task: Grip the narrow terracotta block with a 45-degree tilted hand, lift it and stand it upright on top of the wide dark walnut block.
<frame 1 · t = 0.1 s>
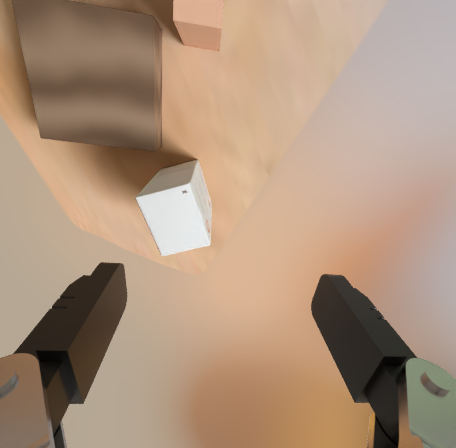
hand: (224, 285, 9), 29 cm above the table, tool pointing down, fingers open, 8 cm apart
walnut block: (109, 86, 31), on the table
terracotta block: (203, 26, 29), on the table
small box: (187, 187, 38), on the table
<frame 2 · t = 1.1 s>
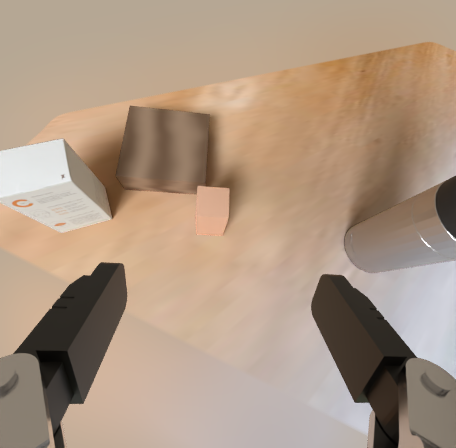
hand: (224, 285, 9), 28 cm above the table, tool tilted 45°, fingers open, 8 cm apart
walnut block: (169, 159, 44), on the table
terracotta block: (210, 222, 40), on the table
small box: (84, 209, 39), on the table
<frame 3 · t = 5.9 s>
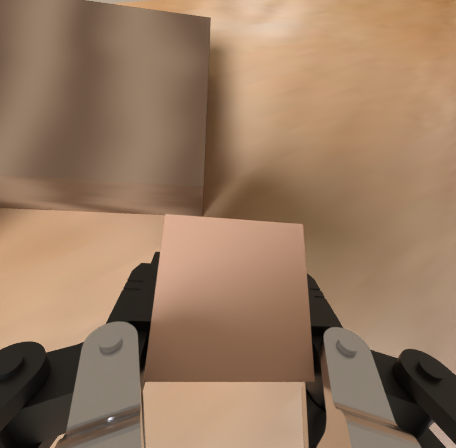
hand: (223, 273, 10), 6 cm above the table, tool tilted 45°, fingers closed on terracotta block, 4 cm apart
walnut block: (119, 133, 19), on the table
terracotta block: (214, 297, 15), on the table, touching gripper
when the fingers open (12 cm above the table, at t = 12.1 s): terracotta block drops 2 cm, resting on walnut block.
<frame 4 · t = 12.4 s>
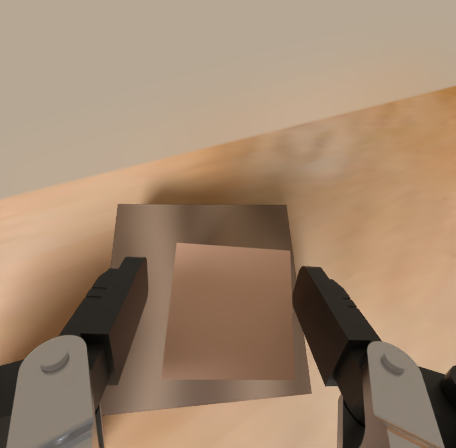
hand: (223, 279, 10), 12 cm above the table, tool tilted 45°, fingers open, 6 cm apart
walnut block: (205, 293, 22), on the table, touching terracotta block
terracotta block: (214, 302, 17), point 5 cm above the table, touching walnut block
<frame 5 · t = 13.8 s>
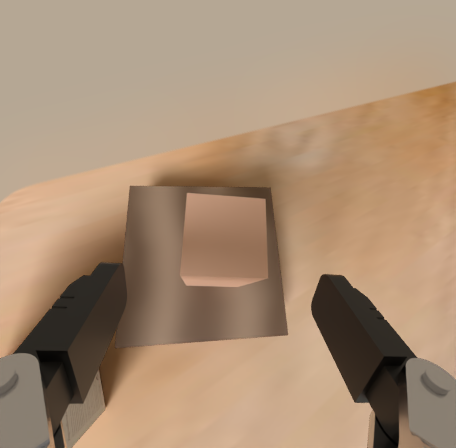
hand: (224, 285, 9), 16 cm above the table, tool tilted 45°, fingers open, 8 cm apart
walnut block: (203, 264, 26), on the table, touching terracotta block
terracotta block: (213, 260, 21), point 5 cm above the table, touching walnut block
small box: (53, 388, 20), on the table
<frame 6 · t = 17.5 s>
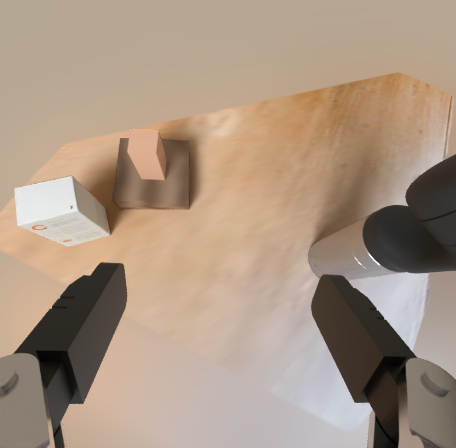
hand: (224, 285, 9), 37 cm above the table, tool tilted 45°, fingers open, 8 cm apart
walnut block: (157, 180, 51), on the table
terracotta block: (154, 169, 46), point 5 cm above the table
small box: (87, 226, 46), on the table
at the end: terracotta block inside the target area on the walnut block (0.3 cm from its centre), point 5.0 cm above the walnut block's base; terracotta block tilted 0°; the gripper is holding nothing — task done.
